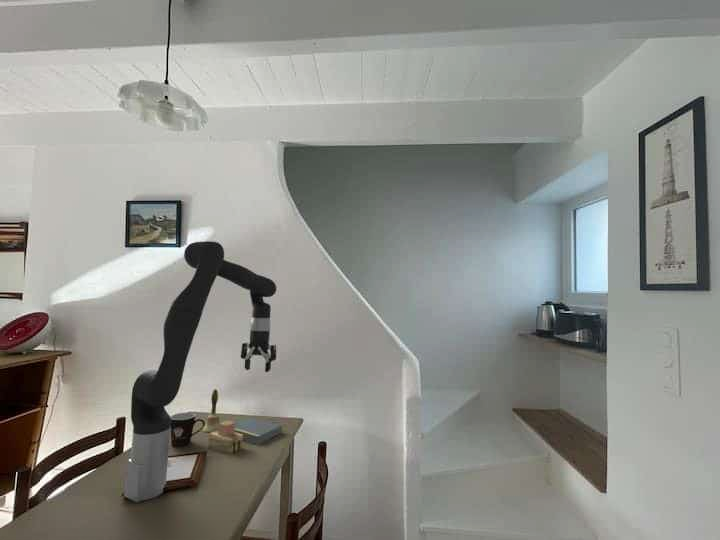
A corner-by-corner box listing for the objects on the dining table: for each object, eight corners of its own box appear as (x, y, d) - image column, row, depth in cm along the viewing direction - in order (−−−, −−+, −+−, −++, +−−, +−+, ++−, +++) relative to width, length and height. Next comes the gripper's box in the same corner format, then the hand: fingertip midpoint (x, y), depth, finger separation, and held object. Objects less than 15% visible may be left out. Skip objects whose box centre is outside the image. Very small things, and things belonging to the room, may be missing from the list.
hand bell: (202, 426, 150) (205, 387, 151) (223, 424, 152) (226, 387, 154) (200, 433, 142) (203, 392, 143) (222, 431, 144) (224, 392, 146)
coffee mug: (162, 446, 129) (164, 417, 130) (181, 437, 137) (183, 411, 138) (187, 451, 125) (189, 422, 126) (205, 442, 133) (207, 415, 134)
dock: (257, 444, 133) (257, 436, 133) (223, 434, 141) (224, 426, 141) (281, 433, 145) (282, 425, 145) (249, 424, 154) (250, 417, 154)
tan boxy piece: (229, 454, 124) (230, 440, 125) (208, 447, 129) (209, 433, 130) (242, 448, 130) (243, 434, 130) (221, 442, 135) (222, 428, 135)
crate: (225, 437, 127) (226, 425, 128) (218, 434, 129) (218, 423, 129) (234, 433, 131) (235, 422, 131) (226, 431, 133) (227, 420, 133)
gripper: (239, 328, 139) (235, 370, 137) (272, 330, 135) (269, 374, 134) (249, 327, 146) (246, 367, 144) (280, 329, 143) (278, 370, 141)
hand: (257, 370), depth 139 cm, fingers open, 8 cm apart
